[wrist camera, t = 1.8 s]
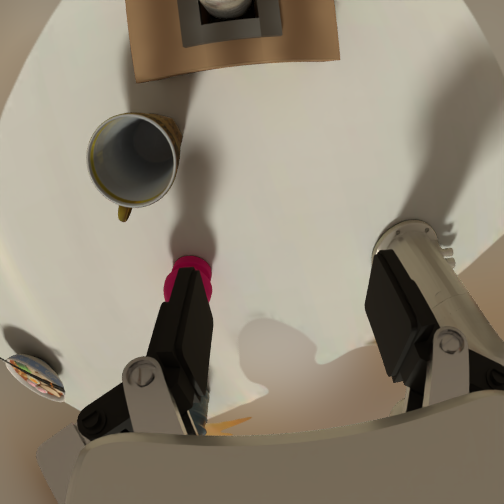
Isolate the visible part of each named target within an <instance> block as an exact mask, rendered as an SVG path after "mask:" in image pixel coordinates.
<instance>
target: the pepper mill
mask: <svg viewBox="0 0 504 504" xmlns="http://www.w3.org/2000/svg"><path fill="white" fill-rule="evenodd" d="M184 267H194V268H195V270H199V271H200V274H201V277H202V281H203V285H204V288H205V292H206V296H207V299H208V303H209V301H210V298H211V295H212V285H211V283H210V281H211V275H212V272H211V268H210V266H209V265H208V263H207V262H206V261H204V260H203V259H201V258H199V257H196V256H184V257H181V258H179V259H178V260H177V261H176V262H175V264H174V266H173V269H172V272H171V273H170V274H169V275H168V276H167V278H166V280H165V283H164V298H165V301H166V302H169V299H170V296H171V292H172V289H173V286H174V282H175V279H176V276H177V272H178V270H179V268H184Z"/></svg>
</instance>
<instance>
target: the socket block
mask: <svg viewBox="0 0 504 504" xmlns="http://www.w3.org/2000/svg"><path fill="white" fill-rule="evenodd" d="M125 3H126V13H127V22H128V31H129V38H130V46H131V53H132V60H133V66H134V73H135V79H136V83H142V82H149V81H156V80H161V79H165V78H169V77H174V76H179V75H183V74H189V73H194V72H199V71H205V70H212V69H218V68H225V67H233V66H242V65H252V64H263V63H279V62H325V61H334V60H340V52H339V41H338V31H337V22H336V13H335V5H334V0H254V8H255V16H256V18H251V19H241V20H232V21H224V22H217V23H211V21H210V13H209V12H208V11H207V10H206V8H205V7H204V6H203V5H202V3H201V2H200V1H199V0H125Z"/></svg>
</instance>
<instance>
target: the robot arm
mask: <svg viewBox="0 0 504 504" xmlns="http://www.w3.org/2000/svg"><path fill="white" fill-rule="evenodd" d="M452 255H453V249H452V248H445V249H442V248H441V247H440V246H439V244H438V238H437V235H436V233H435V231H434V230H433V229H432V228H431V226H429V225H428V224H427V223H425V222H423V221H419V220H408V221H404V222H401V223H399V224H397V225H395V226H393V227H392V228H390V229H389V230H388V231H387V232H386V233H384V234H383V236H382V237H381V238H380V239H379V241H378V242H377V244H376V246H375V248H374V250H373V254H372V269H371V274H370V280H369V285H368V290H367V295H366V300H365V311H366V314H367V317H368V319H369V322H370V325H371V328H372V330H373V333H374V336H375V339H376V342H377V345H378V348H379V351H380V354H381V357H382V360H383V363H384V366H385V369H386V372H387V375H388V376H389V377H390V376H392V379H393V382H394V383H396V382H401V381H403V383H404V385H405V386H407V388H406V394H405V398H403V399H402V400H400V401H399V402H398V403H397V404H396V405H395V406H394V407H393V409H392V411H391V413H390V415H389V417H386V418H382V419H377V420H373V421H368V422H363V423H358V424H353V425H347V426H341V427H336V428H329V429H322V430H315V431H305V432H296V433H285V434H271V435H251V436H203V435H198V432H197V430H196V427H195V425H194V423H193V420H192V418H191V415H190V413H189V409H191V408H192V407H193V403H200V402H201V395H202V396H205V394H206V387H207V377H208V368H209V358H210V349H211V341H212V332H213V317H212V313H211V310H210V306H209V303H208V299H207V296H206V292H205V288H204V285H203V281H202V277H201V274H200V271H199V270H195V268H194V267H184V268H179V270H178V272H177V276H176V279H175V282H174V286H173V289H172V292H171V296H170V299H169V302H163V303H162V304H161V307H160V310H159V313H158V317H157V320H156V323H155V327H154V330H153V334H152V337H151V341H150V344H149V348H148V351H147V355H146V356H143V357H138V358H135V359H133V360H132V361H130V362H129V363H128V364H127V365H126V367H125V368H124V370H123V373H122V383H120V384H119V385H117V386H116V387H114V388H113V389H112V390H110V391H109V392H107V393H106V394H104V395H103V396H101V397H100V398H98V399H97V400H95V401H94V402H92V403H91V404H89V405H88V406H86V407H85V408H84V409H83V410H82V411H81V412H80V414H79V416H78V420H77V423H76V424H73V423H71V424H69V425H68V426H66V427H65V428H64V429H62V430H61V431H59V432H58V433H56V434H55V435H54V436H52V437H51V438H49V439H48V440H47V441H45V442H44V443H42V444H41V445H40V446H39V448H38V450H37V453H36V454H37V455H36V458H37V462H38V464H39V467H40V469H41V471H42V473H43V475H44V477H45V479H46V481H47V483H48V485H49V487H50V489H51V491H52V493H53V494H54V496H55V498H56V500H57V502H58V504H504V342H503V340H502V339H501V338H500V337H499V336H498V334H497V333H496V331H495V330H494V329H493V328H492V326H491V325H490V323H489V322H488V320H487V319H486V317H485V316H484V314H483V313H482V311H481V310H480V308H479V307H478V305H477V304H476V302H475V301H474V299H473V298H472V296H471V295H470V293H469V292H468V290H467V289H466V287H465V286H464V285H463V283H462V282H461V280H460V279H459V277H458V276H457V275H456V273H455V272H454V270H453V268H454V267H455V260H454V258H444V256H452Z"/></svg>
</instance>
